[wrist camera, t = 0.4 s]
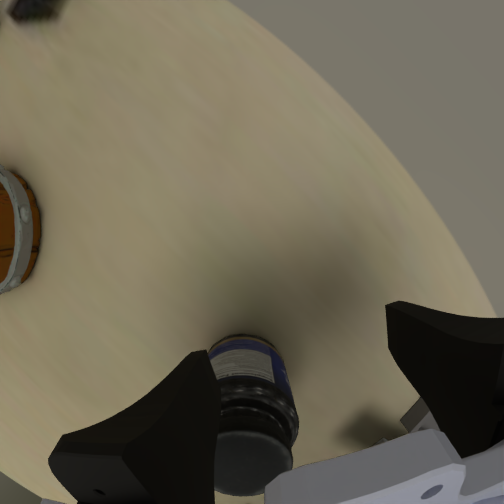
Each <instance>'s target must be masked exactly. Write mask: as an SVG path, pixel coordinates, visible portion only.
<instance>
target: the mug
mask: <svg viewBox="0 0 504 504" xmlns="http://www.w3.org/2000/svg"><path fill="white" fill-rule="evenodd" d="M35 200H36V199H35V197H34V195H33V193H32V191H31V190H28V189H27V183H26V182H25V181H24V180H23V179H22V178H20V177H19V176H18V175H16V174H14V173H12V172H9V171H7V170H5V169H4V166H2V165H1V164H0V294H2V293H5V292H8V291H10V290H11V289H12V288H14V287H17V286H18V285H19V284H20V283H23V282H24V281H25V280H26V279H27V277H28V275H29V273H30V272H31V270H32V268H33V265H34V262H35V259H36V257H37V254H38V250H37V247H38V246H39V245H40V243H39V239H40V237H41V223H40V215H39V210H38V207H36V203H35Z"/></svg>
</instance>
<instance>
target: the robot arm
mask: <svg viewBox="0 0 504 504" xmlns="http://www.w3.org/2000/svg"><path fill="white" fill-rule="evenodd" d="M385 308H386V320H387V334H388V348H389V350H390V352H391V354H392V356H393V358H394V360H395V362H396V363H397V365H398V367H399V368H400V369H401V371H402V372H403V374H404V375H405V376H406V378H407V379H408V380H409V382H410V383H411V384H412V386H413V387H414V388H415V390H416V391H417V392H418V394H419V395H420V396H421V398H422V399H423V400H424V402H425V403H426V405H427V406H428V408H429V410H430V412H431V414H432V415H433V417H434V419H435V421H436V423H437V425H438V427H439V429H440V431H441V432H440V431H437V430H434V429H426V430H421V431H417V432H413V433H408V434H406V435H403V436H400V437H398V438H395V439H392V440H390V441H387V442H384V443H381V444H378V445H375V446H372V447H369V448H366V449H363V450H360V451H356V452H353V453H350V454H346V455H343V456H339V457H335V458H332V459H328V460H324V461H320V462H315V463H311V464H307V465H303V466H300V467H297V468H295V469H292V470H289V471H286V472H283V473H281V474H280V475H278V476H277V477H276V478H275V479H274V480H273V481H271V482H270V483H269V484H268V485H266V486H265V494H264V504H504V318H478V317H469V316H461V315H456V314H451V313H446V312H442V311H438V310H434V309H430V308H426V307H423V306H419V305H416V304H412V303H408V302H404V301H396V302H393V303H390V304H387V305H385ZM220 416H221V388H220V386H219V383H218V381H217V378H216V375H215V373H214V370H213V367H212V365H211V362H210V359H209V356H208V354H207V351H206V350H201V351H195V352H191V353H190V354H189V355H188V356H186V357H185V358H184V359H183V360H182V361H181V362H180V363H179V365H178V366H177V367H176V368H175V369H174V370H173V371H172V372H171V373H170V374H169V375H168V376H167V377H166V378H165V379H163V380H162V381H161V382H160V383H159V384H158V385H157V386H156V387H155V388H153V389H152V390H151V391H150V392H149V393H148V394H146V395H145V396H144V397H142V398H141V399H140V400H138V401H137V402H135V403H134V404H133V405H131V406H130V407H128V408H126V409H124V410H123V411H121V412H119V413H117V414H116V415H114V416H112V417H110V418H108V419H106V420H104V421H102V422H99V423H97V424H95V425H92V426H90V427H87V428H84V429H81V430H78V431H74V432H71V433H68V434H64V435H62V436H61V438H60V440H59V441H58V443H57V445H56V446H55V448H54V450H53V451H52V453H51V455H50V456H49V458H48V464H49V466H50V469H51V471H52V473H53V474H54V476H55V477H56V478H57V480H58V481H59V482H60V483H61V484H62V485H63V486H64V487H65V488H66V490H67V491H68V492H69V493H70V494H71V495H72V496H73V497H74V498H75V499H76V500H77V501H78V502H77V504H215V496H214V460H215V450H216V444H217V437H218V430H219V423H220ZM40 504H65V503H62V502H57V501H53V500H49V499H43V500H42V502H41V503H40Z"/></svg>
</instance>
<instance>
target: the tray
mask: <svg viewBox="0 0 504 504" xmlns="http://www.w3.org/2000/svg"><path fill="white" fill-rule="evenodd" d="M400 421H401V422H402V423H403V425H404V426H405V428H406V429H407V430H408V432H409V433H413V432H417V431H421V430H426V429H434V430H437V431H440V429H439V427H438V425H437V423H436V421H435V419H434V417H433V415H432V414H431V412H430V410H429V408H428V406H427V405H426V403H425V402H424V400H423V399H422V398H421V397H420V399H419V400H418V401H417V402H416V403H415V404H414V406H413V407H412V408H411V409H410V410H409V411H408V412H407V413H406V414H405V415H404V417H403V418H402V419H401V420H400ZM440 432H441V431H440Z"/></svg>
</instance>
